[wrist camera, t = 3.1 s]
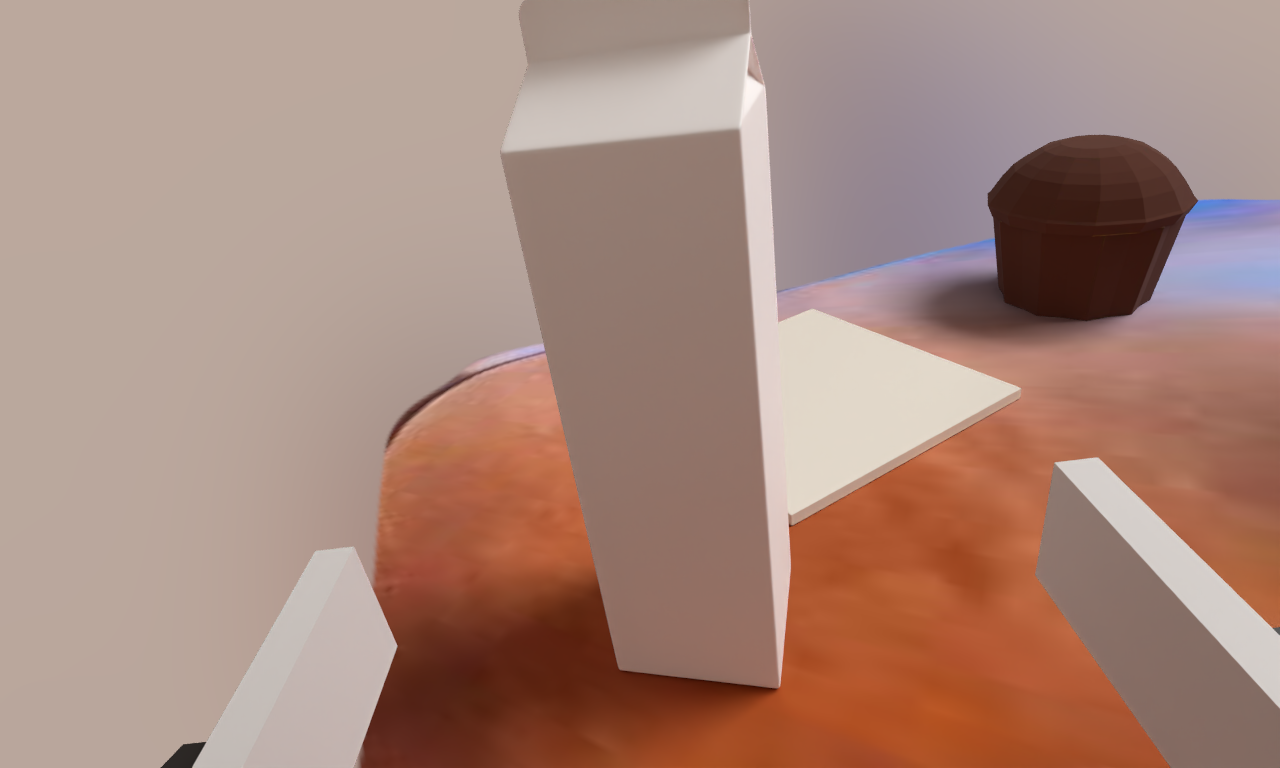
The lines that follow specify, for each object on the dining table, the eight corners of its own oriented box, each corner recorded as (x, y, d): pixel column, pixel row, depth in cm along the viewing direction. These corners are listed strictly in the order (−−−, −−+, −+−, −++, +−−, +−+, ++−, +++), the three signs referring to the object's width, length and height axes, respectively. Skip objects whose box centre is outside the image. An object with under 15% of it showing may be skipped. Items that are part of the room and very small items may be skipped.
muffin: (1218, 314, 43) (1263, 144, 38) (1033, 341, 43) (1055, 176, 38) (1099, 253, 53) (1123, 114, 48) (951, 275, 54) (961, 138, 49)
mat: (1020, 397, 38) (1021, 388, 38) (792, 525, 32) (791, 515, 32) (812, 316, 51) (812, 308, 50) (620, 396, 44) (618, 388, 44)
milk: (781, 692, 25) (733, -39, 14) (615, 672, 26) (459, 6, 16) (791, 566, 30) (763, -40, 19) (652, 556, 31) (553, -6, 21)
